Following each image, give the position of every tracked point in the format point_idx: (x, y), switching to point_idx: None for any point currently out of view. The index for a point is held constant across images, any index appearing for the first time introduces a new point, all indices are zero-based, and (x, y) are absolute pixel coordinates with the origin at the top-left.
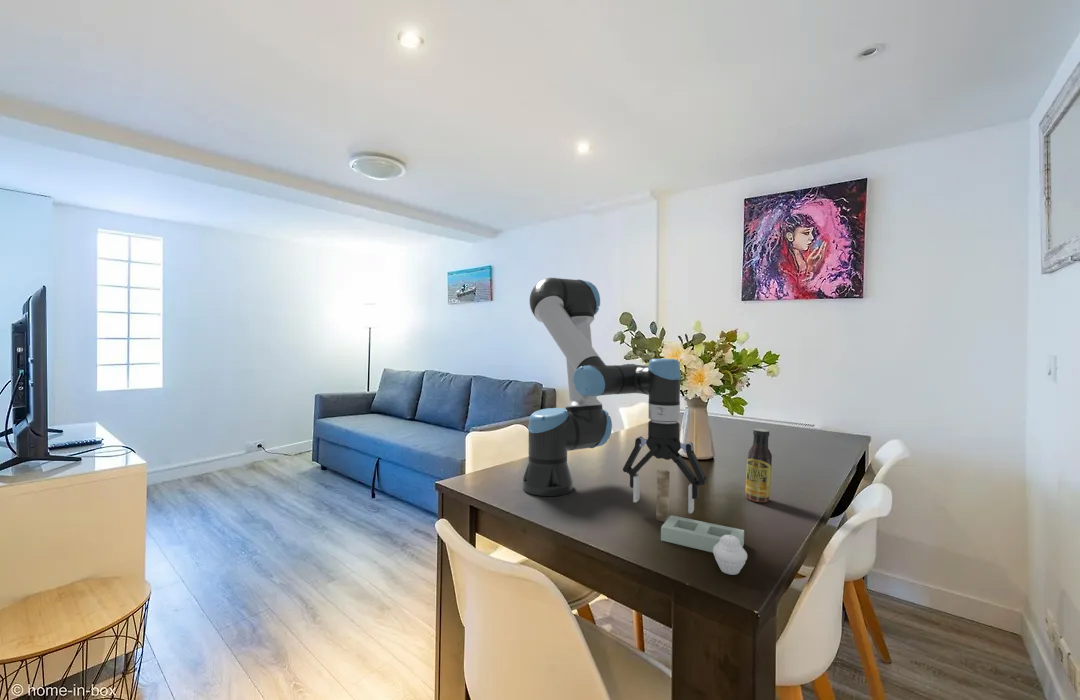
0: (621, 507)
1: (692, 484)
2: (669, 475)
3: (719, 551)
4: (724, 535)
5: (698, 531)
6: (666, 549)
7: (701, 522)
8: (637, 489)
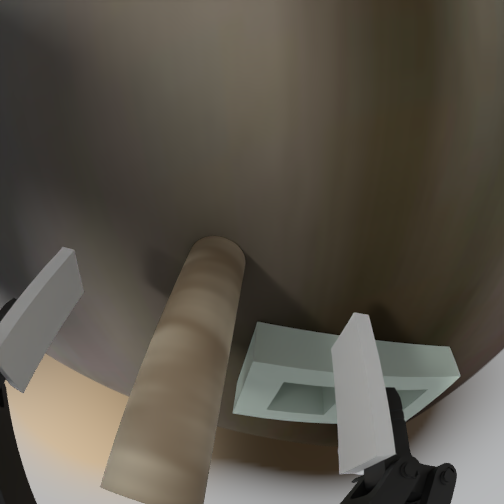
0: (41, 191)
1: (361, 481)
2: (204, 490)
3: None
4: (360, 472)
5: (334, 414)
6: None
7: None
8: (49, 321)
